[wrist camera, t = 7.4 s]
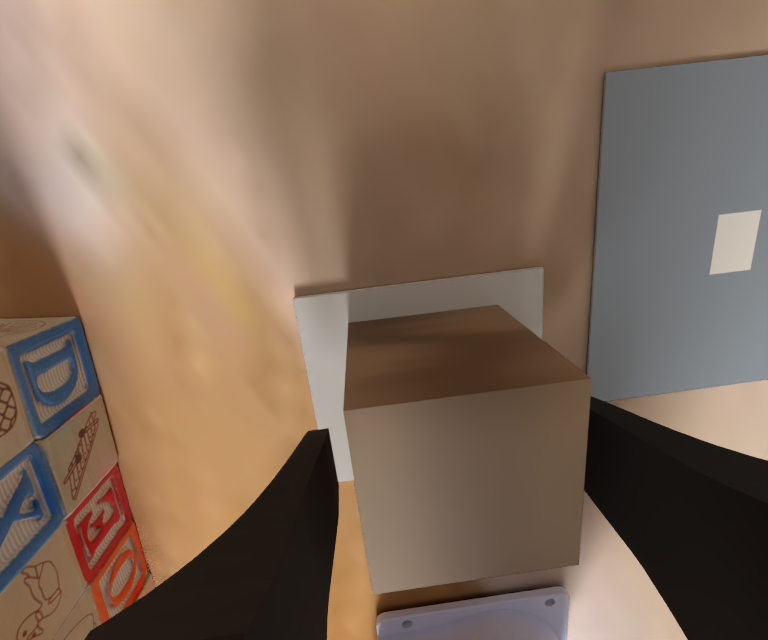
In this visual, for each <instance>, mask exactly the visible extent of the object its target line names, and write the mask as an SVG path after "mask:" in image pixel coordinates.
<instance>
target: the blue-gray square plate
mask: <svg viewBox="0 0 768 640" xmlns="http://www.w3.org/2000/svg"><path fill="white" fill-rule="evenodd" d="M586 375H588V376H589V377H590V378H591V379H592V381H591V396H592V397H594V398H597V399H600V400H602V401H613V400H620V399H627V398H635V397H642V396H649V395H657V394H664V393H672V392H679V391H686V390H694V389H701V388H709V387H716V386H723V385H731V384H738V383H745V382H753V381H760V380H768V55H762V56H752V57H743V58H734V59H725V60H716V61H707V62H697V63H688V64H679V65H670V66H661V67H651V68H642V69H633V70H624V71H615V72H606V73H605V77H604V94H603V110H602V126H601V143H600V159H599V176H598V192H597V209H596V225H595V242H594V258H593V275H592V291H591V308H590V324H589V341H588V357H587V374H586Z"/></svg>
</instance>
